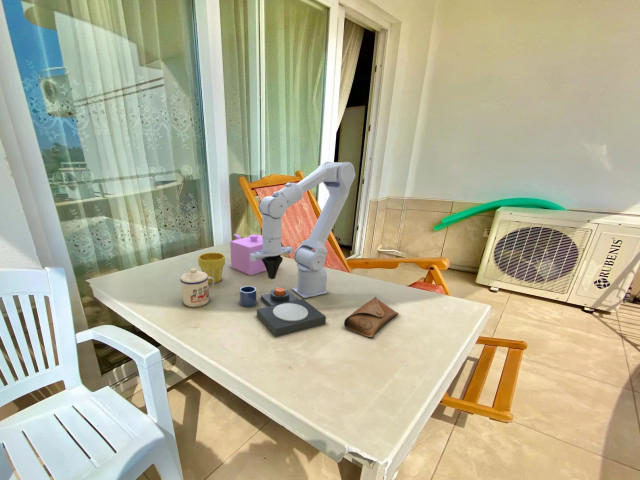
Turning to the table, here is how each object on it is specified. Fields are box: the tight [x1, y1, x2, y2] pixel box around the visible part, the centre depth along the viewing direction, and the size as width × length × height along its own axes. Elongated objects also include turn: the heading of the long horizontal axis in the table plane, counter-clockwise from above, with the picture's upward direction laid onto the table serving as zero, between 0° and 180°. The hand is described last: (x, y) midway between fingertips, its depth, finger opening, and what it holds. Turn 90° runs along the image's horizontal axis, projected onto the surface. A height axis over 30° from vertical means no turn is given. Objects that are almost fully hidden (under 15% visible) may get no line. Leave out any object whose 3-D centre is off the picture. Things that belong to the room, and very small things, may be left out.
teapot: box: [229, 233, 267, 276], centre depth 129 cm, size 15×25×14 cm, turn 38°
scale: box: [256, 298, 327, 338], centre depth 88 cm, size 16×12×3 cm
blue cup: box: [239, 285, 257, 308], centre depth 99 cm, size 5×5×5 cm
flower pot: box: [197, 251, 226, 284], centre depth 117 cm, size 10×10×10 cm
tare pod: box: [260, 289, 300, 307], centre depth 100 cm, size 10×8×3 cm
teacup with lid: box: [179, 267, 215, 308], centre depth 101 cm, size 12×9×12 cm
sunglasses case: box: [343, 296, 400, 338], centre depth 86 cm, size 18×7×7 cm
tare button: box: [274, 287, 286, 295], centre depth 99 cm, size 3×3×2 cm
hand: (271, 278), depth 97 cm, fingers closed
